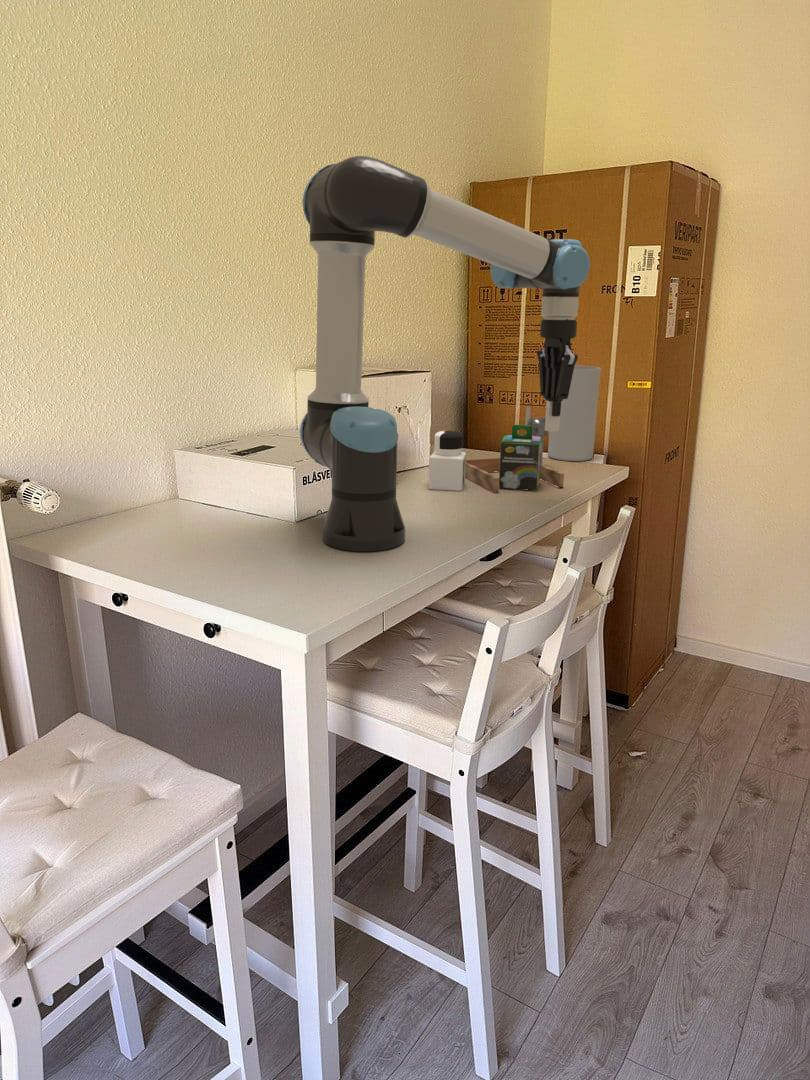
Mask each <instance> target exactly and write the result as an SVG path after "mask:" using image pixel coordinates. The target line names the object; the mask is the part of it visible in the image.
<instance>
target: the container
mask: <svg viewBox="0 0 810 1080" xmlns="http://www.w3.org/2000/svg"><path fill="white" fill-rule="evenodd" d="M463 441H464V435H463V434H462V433H460V431H456V430H441V431H438V432H435V434H434V447H433V449H434V451H433V452H432V454H431V455H430V456H429V464H428V465H429V466H428V473H429V474H428V489H429V490H437V491H438V490H439V491H453V492H454V491H455V492H461V491H462V490H463V489H464V486H465V483H466V478H465V469H466V460H467V452H465V451H463V443H464V442H463Z"/></svg>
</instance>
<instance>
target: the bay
mask: <svg viewBox="0 0 810 1080" xmlns="http://www.w3.org/2000/svg"><path fill="white" fill-rule="evenodd" d="M494 471H500V457H489V458H487V457H486V458H474V459H473V458H472V459H466V469H465V479H467V480H469V481H470V480H471V482H472V483H474V484H476V483H477V484H476V485H478V484H479V485H478V486H480V485H481V486H480V487H482V486H483V487H482V488H484V487H485V488H484V489H486V488H487V489H489V490H491V491H493V492H498V493H499V476H496V475H494V474H493V473H495V472H494ZM488 472H491V473H488ZM540 479H542V480H544V481H547V482H549V483H551V484H553V485H556V486H558V487H563V488H564V479H565V473H564V472H561V471H558V470H556V469H554V468H551V467H549V466H546V465H543V464H542V465H541V469H540ZM544 481H543V482H544ZM553 485H552V486H553ZM487 489H486V490H487ZM489 490H488V491H489ZM491 491H490V492H491ZM493 492H492V493H493Z"/></svg>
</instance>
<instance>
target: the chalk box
mask: <svg viewBox="0 0 810 1080" xmlns="http://www.w3.org/2000/svg"><path fill="white" fill-rule="evenodd" d="M519 430H524V431H525V432H526V431H527V434H526V433H525V434H520V433H518V432H519ZM532 430H533V428H532V426H531V425H525V424H513V425H512V427H511V434H506V435H504V436H503V438H502V440H501V441H500V447H499V448H500V449H499V450H500V451H499V453H500V454H499V458H500V472H498V473H499V475H498V478H499V488H501V489H504V488H514V489H513V490H516V489H528V490H537V491H538V488H539V485H540V483H541V480H540V469H541V450H542V436H532Z"/></svg>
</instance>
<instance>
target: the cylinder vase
mask: <svg viewBox="0 0 810 1080" xmlns="http://www.w3.org/2000/svg"><path fill="white" fill-rule="evenodd" d="M601 372H602V367H599V366H592V365H579V364H578V365H577V364H575V366H574V370H573V375H572V380H571V385H570V390H569V395H568V398H567V399H564V400H563V401H561V411H560V423H559V431H548V433H549V434H548V444H547V445H548V447H547V455H548V457H549V458H551V459H554V460H558V461H565V462H586V461H590V460H592V458H593V457H594V447H595V438H596V437H595V436H596V428H597V427H596V425H597V417H598V416H597V415H598V405H599V395H600V382H601Z"/></svg>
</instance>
